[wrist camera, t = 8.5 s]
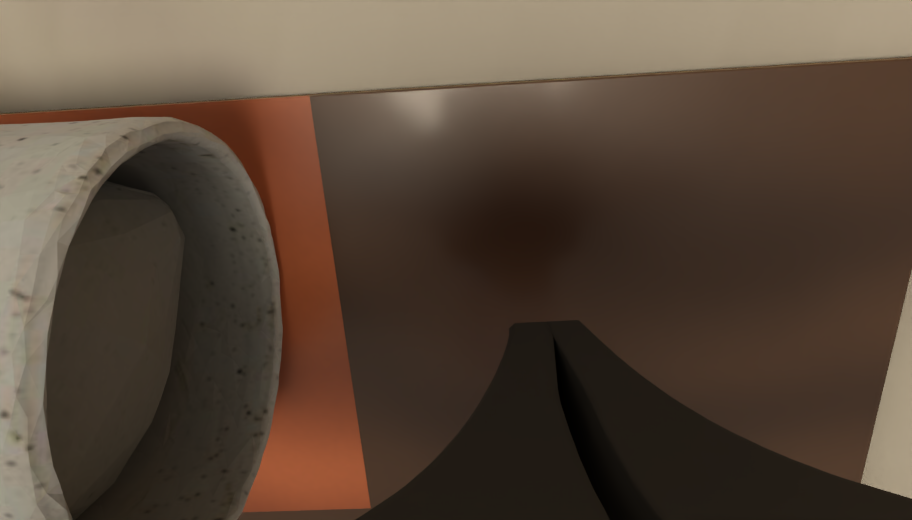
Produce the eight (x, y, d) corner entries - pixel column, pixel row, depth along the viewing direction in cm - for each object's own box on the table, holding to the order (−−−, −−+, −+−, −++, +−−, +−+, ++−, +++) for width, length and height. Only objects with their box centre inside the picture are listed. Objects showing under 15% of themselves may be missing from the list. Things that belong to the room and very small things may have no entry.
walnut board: (827, 591, 18) (833, 600, 18) (4, 611, 19) (-3, 621, 19) (952, 54, 12) (964, 55, 12) (-230, 127, 13) (-244, 130, 13)
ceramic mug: (-137, 104, 13) (-890, 241, 6) (250, 83, 12) (-43, 201, 5) (32, 494, 17) (-282, 850, 10) (324, 487, 17) (215, 851, 10)
